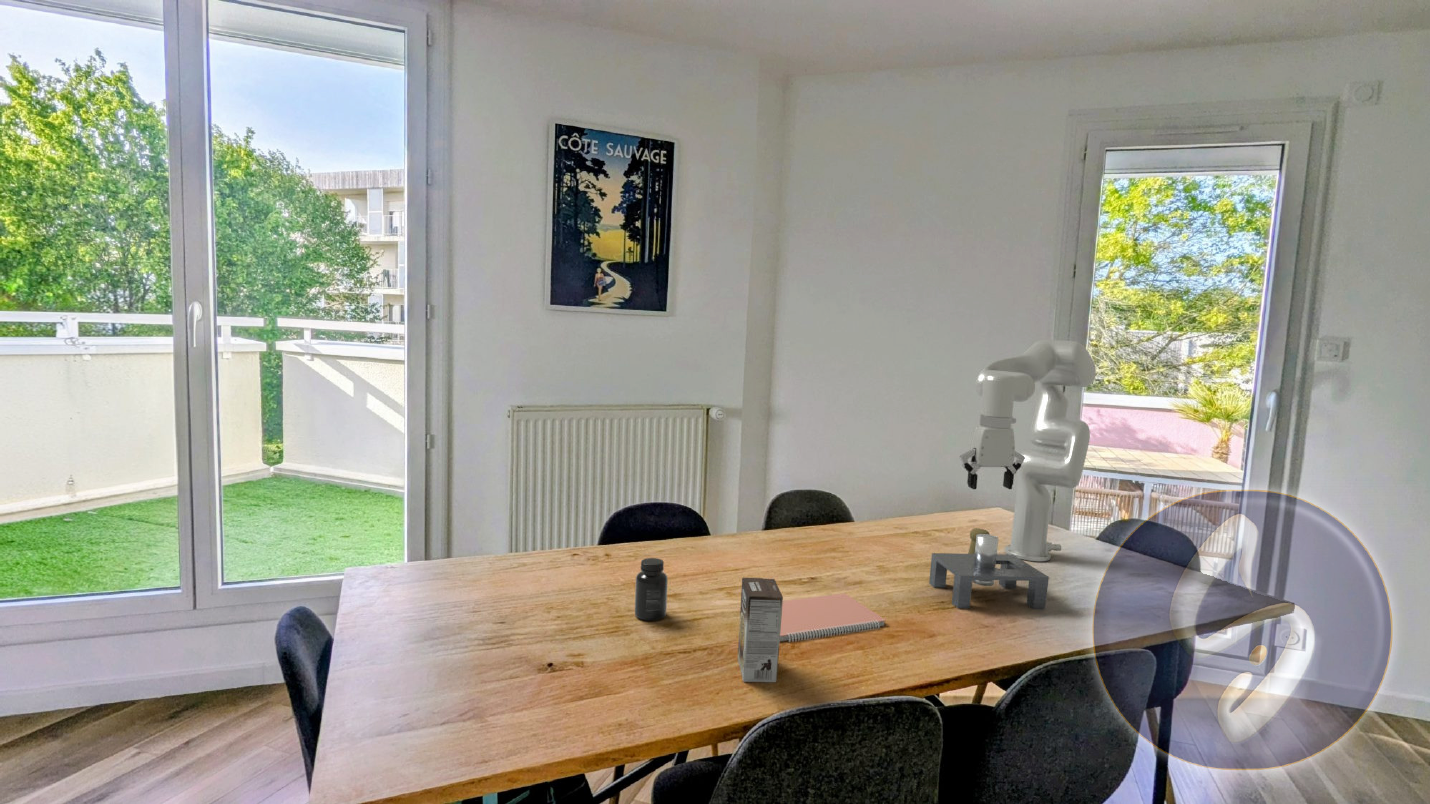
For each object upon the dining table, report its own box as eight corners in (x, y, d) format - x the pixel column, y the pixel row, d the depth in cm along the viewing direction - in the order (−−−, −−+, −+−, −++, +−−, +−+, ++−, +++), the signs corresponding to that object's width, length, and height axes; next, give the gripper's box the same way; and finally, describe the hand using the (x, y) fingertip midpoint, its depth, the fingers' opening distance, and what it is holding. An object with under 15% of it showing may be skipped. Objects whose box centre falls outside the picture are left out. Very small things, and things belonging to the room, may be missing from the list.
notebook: (778, 646, 141) (779, 637, 140) (741, 613, 156) (742, 604, 156) (888, 629, 152) (889, 621, 152) (844, 600, 167) (844, 592, 167)
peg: (987, 578, 176) (991, 533, 175) (997, 585, 171) (1002, 540, 170) (968, 578, 175) (972, 533, 174) (978, 585, 170) (982, 539, 169)
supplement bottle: (671, 612, 153) (673, 559, 152) (658, 624, 147) (661, 568, 145) (642, 606, 155) (644, 554, 154) (628, 618, 149) (631, 563, 147)
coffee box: (736, 658, 134) (741, 576, 132) (769, 658, 134) (775, 577, 133) (742, 682, 125) (747, 595, 123) (777, 683, 125) (783, 596, 124)
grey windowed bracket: (1009, 584, 183) (1012, 554, 182) (1045, 609, 167) (1048, 576, 166) (929, 583, 180) (931, 553, 179) (957, 608, 164) (960, 575, 164)
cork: (984, 565, 197) (988, 527, 196) (990, 572, 191) (995, 533, 190) (962, 563, 198) (966, 525, 196) (968, 570, 192) (972, 531, 190)
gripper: (1019, 420, 183) (1013, 484, 185) (956, 419, 181) (951, 484, 183) (1035, 425, 176) (1029, 491, 178) (970, 424, 173) (965, 492, 176)
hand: (989, 488), depth 181 cm, fingers open, 9 cm apart
